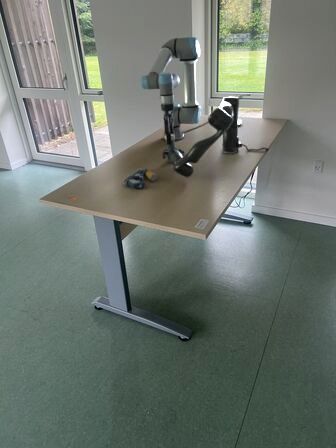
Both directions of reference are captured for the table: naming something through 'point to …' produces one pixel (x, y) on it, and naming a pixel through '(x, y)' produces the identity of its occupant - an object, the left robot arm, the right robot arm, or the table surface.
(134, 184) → the spray gun
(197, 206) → the table surface
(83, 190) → the table surface
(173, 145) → the bottle
